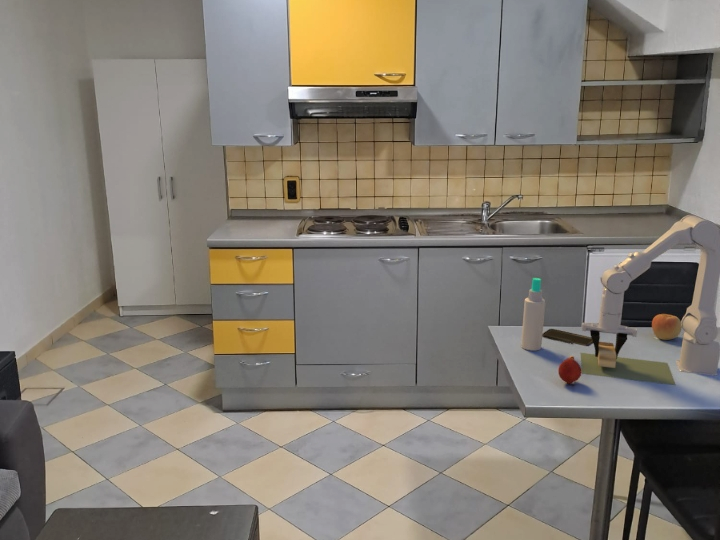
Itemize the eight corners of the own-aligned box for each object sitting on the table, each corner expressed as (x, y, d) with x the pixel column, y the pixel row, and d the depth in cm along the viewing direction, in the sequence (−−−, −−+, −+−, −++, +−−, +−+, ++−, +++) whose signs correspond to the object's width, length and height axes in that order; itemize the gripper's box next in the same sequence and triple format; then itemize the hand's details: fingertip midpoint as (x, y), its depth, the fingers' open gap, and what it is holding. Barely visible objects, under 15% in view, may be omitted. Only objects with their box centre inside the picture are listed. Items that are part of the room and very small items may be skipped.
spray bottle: (545, 349, 197) (551, 280, 192) (529, 352, 195) (535, 282, 189) (532, 342, 203) (538, 275, 197) (516, 345, 200) (522, 277, 195)
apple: (650, 340, 206) (653, 317, 204) (649, 332, 214) (652, 309, 212) (680, 345, 203) (684, 320, 201) (678, 335, 210) (682, 312, 208)
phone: (550, 328, 214) (596, 338, 205) (550, 331, 214) (595, 341, 206) (541, 334, 208) (587, 345, 199) (540, 337, 208) (587, 348, 200)
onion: (565, 389, 170) (568, 361, 168) (553, 380, 175) (555, 353, 173) (584, 387, 172) (587, 359, 170) (571, 378, 177) (574, 351, 175)
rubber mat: (667, 364, 187) (667, 362, 187) (675, 386, 173) (675, 385, 173) (580, 353, 194) (580, 352, 194) (581, 374, 180) (581, 373, 179)
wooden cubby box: (615, 367, 180) (616, 355, 179) (598, 365, 181) (599, 353, 180) (612, 354, 189) (613, 342, 188) (596, 353, 190) (597, 341, 189)
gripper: (637, 310, 183) (631, 354, 186) (583, 304, 187) (578, 348, 191) (639, 317, 176) (634, 363, 180) (584, 312, 181) (579, 357, 184)
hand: (605, 356), depth 185 cm, fingers closed on wooden cubby box, 4 cm apart
